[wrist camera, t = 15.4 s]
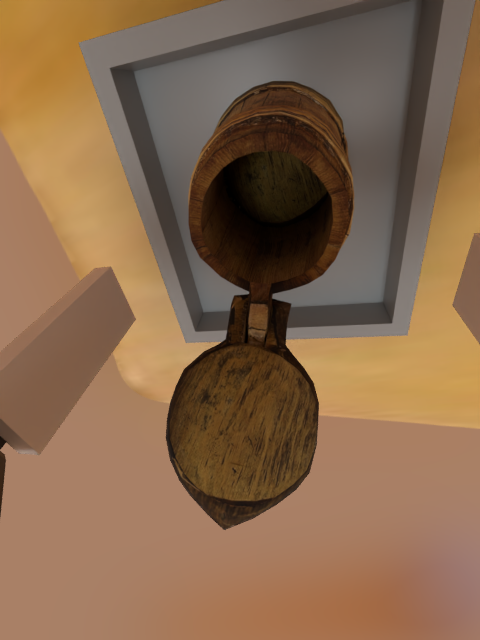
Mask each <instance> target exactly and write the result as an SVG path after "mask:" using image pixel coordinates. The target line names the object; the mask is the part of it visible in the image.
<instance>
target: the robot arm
mask: <svg viewBox="0 0 480 640" xmlns="http://www.w3.org/2000/svg"><path fill="white" fill-rule="evenodd" d="M453 307H454V308H455V310H456V311H457V312H458V314H459V315H460V317H461V318H462V320H463V321H464V322H465V324H466V325H467V327H468V328H469V330H470V331H471V332H472V334H473V335H474V337H475V338H476V340H477V341H478V342H479V344H480V233H474V236H473V239H472V243H471V246H470V249H469V253H468V256H467V259H466V262H465V266H464V269H463V272H462V275H461V279H460V282H459V285H458V289H457V292H456V295H455V298H454V302H453ZM135 320H136V319H135V317H134V314H133V312H132V310H131V308H130V306H129V304H128V302H127V300H126V298H125V295H124V293H123V291H122V289H121V287H120V285H119V283H118V281H117V278H116V276H115V274H114V272H113V270H112V268H111V267H102V268H95V269H94V270H92V271H91V272H90V273H89V274H88V275H87V276H86V277H84V278H83V279H82V280H81V281H80V282H79V283H78V284H77V285H76V286H74V287H73V288H72V289H71V290H70V291H69V292H67V294H65V295H64V296H63V297H62V298H61V299H60V300H58V301H57V302H56V303H55V304H54V305H53V306H52V307H51V308H49V309H48V310H47V311H46V312H45V313H44V314H43V315H41V316H40V317H39V318H38V319H37V320H36V321H35V322H33V323H32V324H31V325H30V326H29V327H28V328H27V329H26V330H25V331H23V332H22V333H21V334H20V335H19V336H18V337H16V338H15V339H14V340H13V341H12V342H11V343H10V344H9V345H7V346H6V347H5V348H4V349H3V350H2V351H1V352H0V449H1V448H2V447H3V445H4V444H5V443H6V442H7V443H8V444H9V445H10V446H11V447H12V448H13V449H15V450H16V451H17V452H18V453H22V454H35V455H40V454H41V452H42V451H43V449H44V448H45V447H46V445H47V444H48V442H49V441H50V439H51V438H52V437H53V435H54V434H55V433H56V431H57V430H58V428H59V427H60V425H61V424H62V423H63V421H64V420H65V418H66V417H67V416H68V414H69V413H70V411H71V410H72V409H73V407H74V406H75V404H76V403H77V401H78V400H79V398H80V397H81V396H82V394H83V393H84V391H85V390H86V389H87V387H88V386H89V384H90V383H91V382H92V380H93V379H94V377H95V376H96V375H97V373H98V372H99V370H100V369H101V367H102V366H103V365H104V363H105V362H106V361H107V359H108V357H109V356H110V355H111V353H112V352H113V351H114V349H115V348H116V346H117V345H118V344H119V342H120V341H121V339H122V338H123V337H124V335H125V334H126V332H127V331H128V329H129V328H130V327H131V325H132V324H133V322H134V321H135ZM5 462H6V459H5V455H4V454H3V453H2V452H1V451H0V513H1V504H2V494H3V484H4V473H5Z"/></svg>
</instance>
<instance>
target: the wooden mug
mask: <svg viewBox="0 0 480 640" xmlns="http://www.w3.org/2000/svg"><path fill="white" fill-rule="evenodd" d="M353 212H354V187H353V176H352V169H351V166H350V164H349V161H348V144H347V140H346V137H345V134H344V129H343V120H342V119H341V117H340V116H339V114H338V112H337V111H336V109H335V108H334V106H333V104H332V103H331V101H330V100H329V99H328V98H326V97H325V96H323V95H322V94H320V93H318V92H317V91H315V90H314V89H312V88H310V87H307V86H305V85H302V84H299V83H297V82H294V81H271V82H268V83H265V84H261V85H258V86H255V87H252V88H251V89H249V90H248V91H246V92H245V93H243V94H242V95H240V96H239V97H237V98H236V99H235V100H234V101H233V102H232V103H231V105H230V106H229V107H228V108H227V110H226V111H225V112H224V113H223V115H222V116H221V118H220V120H219V122H218V124H217V127H216V129H215V131H214V133H213V135H212V136H211V138H210V139H209V140H208V142H207V143H206V144H205V146H204V147H203V148H202V151H201V153H200V156H199V158H198V161H197V163H196V166H195V168H194V171H193V173H192V176H191V180H190V187H189V194H188V224H189V230H190V236H191V241H192V243H193V245H194V247H195V249H196V251H197V253H198V255H199V257H200V258H201V259H202V260H203V261H204V262H205V263H206V264H208V265H209V266H210V267H211V268H212V269H213V270H214V271H215V272H216V273H217V274H218V275H219V276H220V277H222V278H224V279H225V280H227V281H229V282H230V283H232V284H234V285H235V286H237V287H240V288H242V289H244V290H246V291H248V292H249V294H244V295H234V297H233V300H232V303H231V308H230V315H229V321H228V328H227V334H226V339H225V340H224V341H222V342H221V343H220V344H218V345H216V346H214V347H212V348H210V349H208V350H206V351H204V352H203V353H202V354H201V355H200V356H199V357H197V358H196V359H195V360H194V361H193V362H192V363H191V364H190V365H188V366H187V367H186V368H185V369H184V371H183V373H182V375H181V377H180V379H179V381H178V383H177V385H176V388H175V391H174V394H173V396H172V399H171V402H170V407H169V413H168V418H167V429H166V441H167V446H168V451H169V457H170V461H171V463H172V465H173V467H174V469H175V472H176V474H177V476H178V478H179V481H180V482H181V483H182V485H183V486H184V488H185V489H186V490H187V492H188V493H189V494H190V496H191V497H192V498H193V499H194V500H195V501H196V502H197V503H198V504H199V506H201V508H202V509H203V510H204V511H205V512H206V513H207V514H208V515H209V516H210V517H211V518H212V519H213V520H214V521H215V522H216V523H218V525H219V526H220V527H222V528H223V529H224V530H226V529H228V528H231V527H233V526H235V525H238V524H241V523H243V522H245V521H248V520H251V519H253V518H255V517H256V516H258V515H260V514H261V513H263V512H265V511H266V510H268V509H270V508H271V507H273V506H275V505H277V504H278V503H279V502H281V501H282V500H283V499H284V498H286V497H287V496H288V495H290V494H291V493H292V492H294V491H295V490H296V489H297V488H298V487H299V485H300V484H301V483H302V482H303V480H304V479H305V478H306V477H307V475H308V474H309V472H310V469H311V465H312V461H313V457H314V453H315V449H316V445H317V430H318V411H319V402H318V398H317V394H316V391H315V387H314V383H313V381H312V380H311V378H310V377H309V375H308V374H307V372H306V370H305V369H304V368H303V366H302V365H301V364H300V363H299V362H298V360H297V359H296V358H295V357H294V356H293V354H292V353H291V352H290V350H289V349H288V348H287V346H286V345H285V344H286V333H287V322H288V317H289V313H290V308H291V303H288V302H284V301H280V300H276V299H272V296H273V294H275V293H279V292H283V291H288V290H292V289H295V288H297V287H300V286H303V285H306V284H309V283H310V282H312V281H314V280H315V279H317V278H319V277H320V276H322V275H323V274H324V273H325V272H326V271H327V269H328V268H329V267H330V266H331V264H332V263H333V262H334V261H335V259H336V257H337V255H338V253H339V250H340V249H341V247H342V246H343V244H344V242H345V240H346V239H347V237H348V235H349V234H350V230H351V224H352V218H353Z"/></svg>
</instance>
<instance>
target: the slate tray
mask: <svg viewBox="0 0 480 640" xmlns="http://www.w3.org/2000/svg"><path fill="white" fill-rule="evenodd" d="M474 5H475V0H224V1H220V2H217V3H213V4H210V5H206V6H203V7H200V8H196V9H193V10H189V11H186V12H182V13H179V14H176V15H172V16H169V17H165V18H162V19H158V20H155V21H152V22H148V23H145V24H141V25H138V26H134V27H131V28H128V29H124V30H121V31H117V32H114V33H110V34H107V35H104V36H100V37H97V38H93V39H90V40H86V41H83V42H80V43H79V46H80V48H81V51H82V54H83V57H84V60H85V62H86V65H87V68H88V71H89V74H90V76H91V79H92V82H93V85H94V88H95V90H96V93H97V96H98V99H99V102H100V104H101V107H102V110H103V113H104V115H105V118H106V121H107V124H108V127H109V129H110V132H111V135H112V138H113V141H114V143H115V146H116V149H117V152H118V155H119V157H120V160H121V163H122V166H123V169H124V171H125V174H126V177H127V180H128V182H129V185H130V188H131V191H132V194H133V196H134V199H135V202H136V205H137V208H138V210H139V213H140V216H141V219H142V222H143V224H144V227H145V230H146V233H147V236H148V238H149V241H150V244H151V247H152V249H153V252H154V255H155V258H156V261H157V263H158V266H159V269H160V272H161V275H162V277H163V280H164V283H165V286H166V289H167V291H168V294H169V297H170V300H171V303H172V305H173V308H174V311H175V314H176V316H177V319H178V322H179V325H180V328H181V330H182V333H183V336H184V339H185V342H186V343H196V342H222V341H224V340H225V339H226V334H227V328H228V321H229V315H230V308H231V303H232V300H233V297H234V295H244V294H249V292H248V291H246V290H244V289H242V288H240V287H237V286H235V285H234V284H232V283H230V282H229V281H227V280H225V279H224V278H222V277H220V276H219V275H218V274H217V273H216V272H215V271H214V270H213V269H212V268H211V267H210V266H209V265H208V264H206V263H205V262H204V261H203V260H202V259H201V258H200V257H199V255H198V253H197V251H196V249H195V247H194V245H193V243H192V241H191V236H190V230H189V224H188V194H189V187H190V180H191V176H192V173H193V171H194V168H195V166H196V163H197V161H198V158H199V156H200V153H201V151H202V148H203V147H204V146H205V144H206V143H207V142H208V140H209V139H210V138H211V136H212V135H213V133H214V131H215V129H216V127H217V124H218V122H219V120H220V118H221V116H222V115H223V113H224V112H225V111H226V110H227V108H228V107H229V106H230V105H231V103H232V102H233V101H234V100H235V99H236V98H237V97H239V96H240V95H242V94H243V93H245V92H246V91H248V90H249V89H251V88H252V87H255V86H258V85H261V84H265V83H268V82H271V81H294V82H297V83H299V84H302V85H305V86H307V87H310V88H312V89H314V90H315V91H317V92H318V93H320V94H322V95H323V96H325V97H326V98H328V99H329V100H330V101H331V103H332V104H333V106H334V108H335V109H336V111H337V112H338V114H339V116H340V117H341V119H342V120H343V129H344V134H345V137H346V140H347V144H348V161H349V164H350V166H351V169H352V176H353V187H354V212H353V218H352V224H351V230H350V234H349V235H348V237H347V239H346V240H345V242H344V244H343V246H342V247H341V249H340V250H339V253H338V255H337V257H336V259H335V261H334V262H333V263H332V264H331V266H330V267H329V268H328V269H327V271H326V272H325V273H324V274H323V275H322V276H320V277H319V278H317V279H315V280H314V281H312V282H310V283H309V284H306V285H303V286H300V287H297V288H295V289H292V290H288V291H283V292H279V293H275V294H273V296H272V299H276V300H280V301H284V302H288V303H291V308H290V313H289V317H288V322H287V333H286V339H314V338H344V337H374V336H403V335H408V330H409V325H410V320H411V315H412V310H413V305H414V300H415V295H416V290H417V286H418V281H419V276H420V271H421V266H422V261H423V256H424V251H425V246H426V241H427V236H428V231H429V226H430V221H431V217H432V212H433V207H434V202H435V197H436V192H437V187H438V182H439V177H440V172H441V167H442V162H443V157H444V152H445V148H446V143H447V138H448V133H449V128H450V123H451V118H452V113H453V108H454V103H455V98H456V93H457V88H458V84H459V79H460V74H461V69H462V64H463V59H464V54H465V49H466V44H467V39H468V34H469V29H470V24H471V19H472V15H473V10H474Z"/></svg>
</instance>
